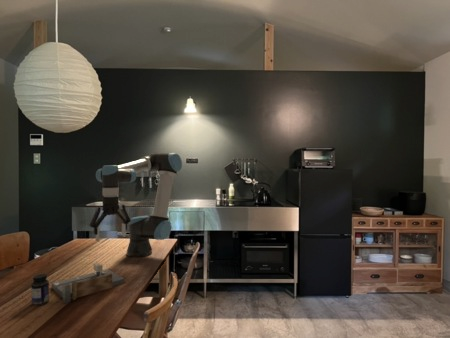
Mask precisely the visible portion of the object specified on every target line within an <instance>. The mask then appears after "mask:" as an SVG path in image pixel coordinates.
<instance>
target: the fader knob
mask: <svg viewBox="0 0 450 338" xmlns="http://www.w3.org/2000/svg"><path fill="white" fill-rule="evenodd" d="M103 270H104V269H103V264H102V263H100V262H96V263H93V271H95V272H96V275H100V272H101V271H103Z"/></svg>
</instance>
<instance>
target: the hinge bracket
mask: <svg viewBox="0 0 450 338" xmlns="http://www.w3.org/2000/svg"><path fill="white" fill-rule="evenodd" d="M71 299H72V298H71V293H70V284H69V283H65V284H63V298H62V302H63V303H64V304H68V303H71V301H72V300H71Z"/></svg>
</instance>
